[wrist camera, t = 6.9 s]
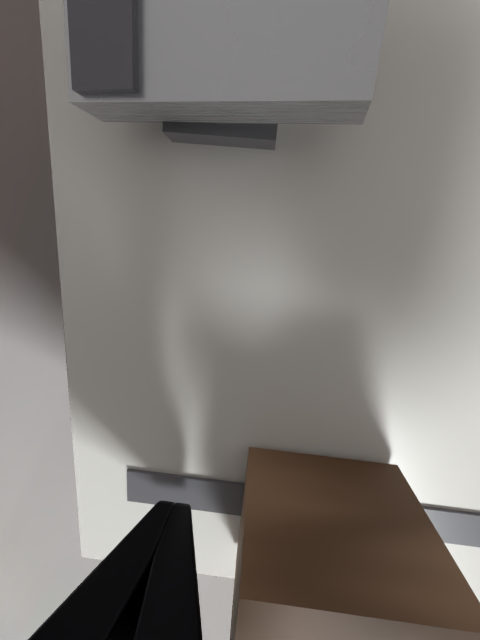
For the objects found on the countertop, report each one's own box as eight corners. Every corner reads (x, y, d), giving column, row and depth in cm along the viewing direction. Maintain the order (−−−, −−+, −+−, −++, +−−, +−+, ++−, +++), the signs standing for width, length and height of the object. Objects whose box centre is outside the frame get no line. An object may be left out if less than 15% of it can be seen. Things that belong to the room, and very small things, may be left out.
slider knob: (397, 465, 7) (499, 636, 4) (366, 573, 8) (431, 777, 5) (248, 446, 7) (239, 598, 4) (236, 555, 8) (221, 742, 5)
